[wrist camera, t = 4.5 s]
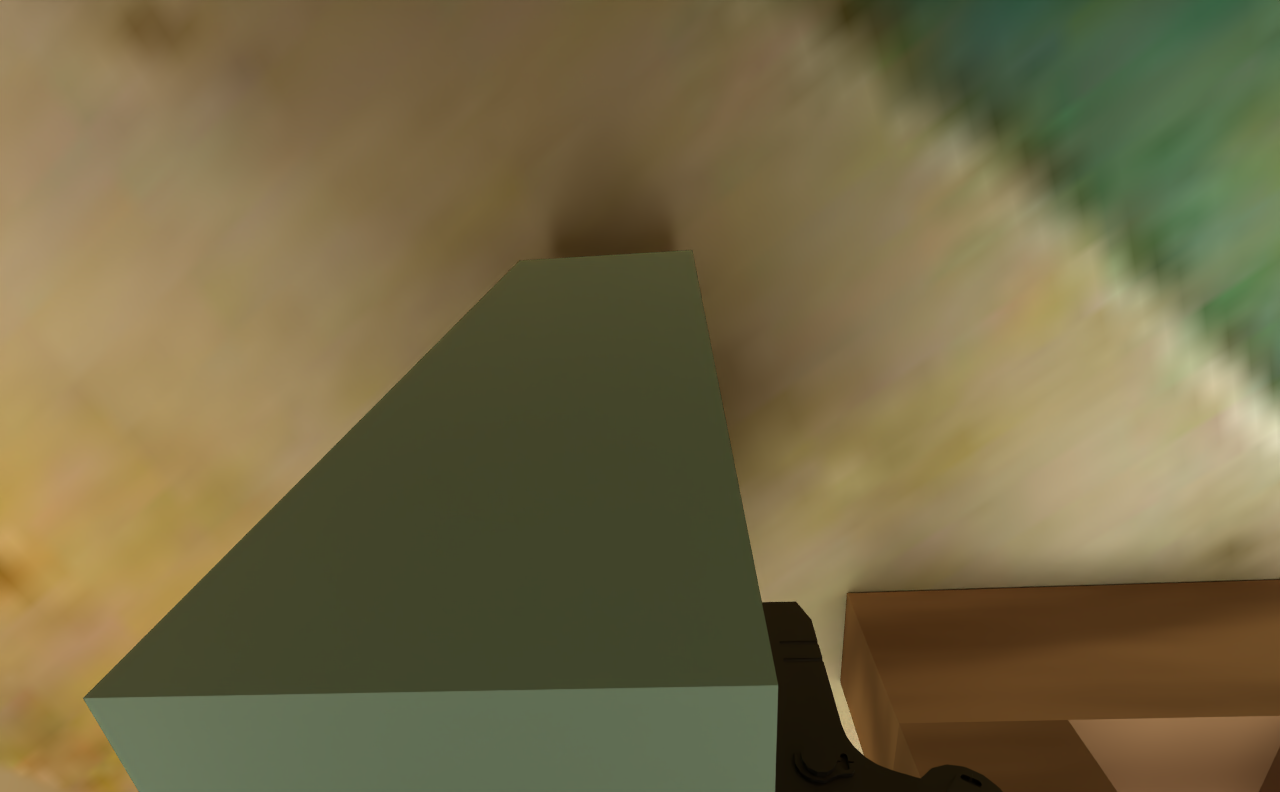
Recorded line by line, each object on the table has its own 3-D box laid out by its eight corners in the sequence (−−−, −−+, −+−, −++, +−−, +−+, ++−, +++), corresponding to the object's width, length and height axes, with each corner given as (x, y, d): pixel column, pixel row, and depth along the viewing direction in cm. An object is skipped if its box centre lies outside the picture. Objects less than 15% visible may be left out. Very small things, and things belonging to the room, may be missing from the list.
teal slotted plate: (519, 260, 15) (83, 698, 4) (692, 250, 14) (778, 685, 3) (594, 776, 22) (524, 1438, 11) (709, 775, 22) (755, 1450, 11)
